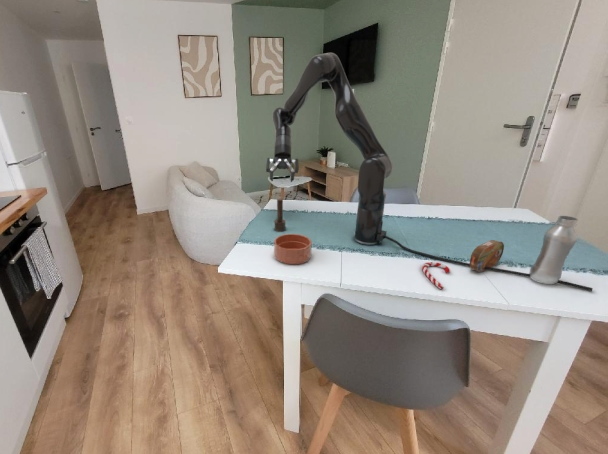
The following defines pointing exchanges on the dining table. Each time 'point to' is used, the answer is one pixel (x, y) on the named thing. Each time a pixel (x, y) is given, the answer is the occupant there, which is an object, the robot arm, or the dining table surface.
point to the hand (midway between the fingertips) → (281, 180)
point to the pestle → (279, 217)
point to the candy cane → (431, 275)
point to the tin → (486, 255)
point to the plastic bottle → (554, 251)
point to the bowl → (292, 248)
